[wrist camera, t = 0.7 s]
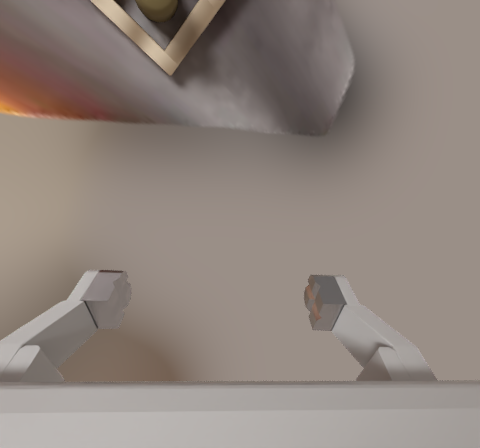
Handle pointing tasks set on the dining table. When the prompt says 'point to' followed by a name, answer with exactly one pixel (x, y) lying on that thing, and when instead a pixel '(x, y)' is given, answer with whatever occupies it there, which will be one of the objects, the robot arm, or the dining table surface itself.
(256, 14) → the dining table surface
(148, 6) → the cork
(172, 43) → the wooden frame
